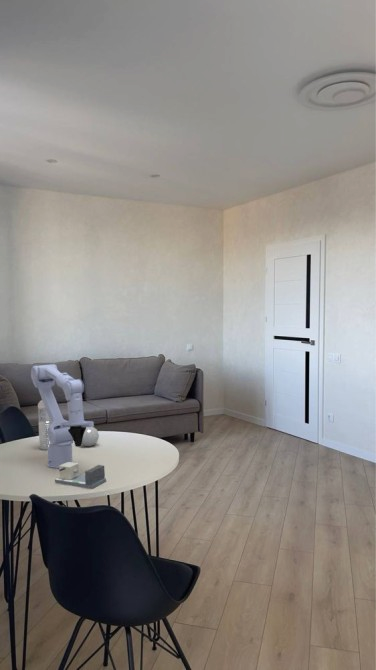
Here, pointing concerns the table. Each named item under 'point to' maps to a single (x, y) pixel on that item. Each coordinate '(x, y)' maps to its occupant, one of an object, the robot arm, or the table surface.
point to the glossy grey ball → (90, 436)
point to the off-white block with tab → (69, 470)
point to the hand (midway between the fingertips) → (78, 445)
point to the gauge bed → (79, 482)
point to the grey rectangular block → (94, 475)
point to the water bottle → (43, 426)
